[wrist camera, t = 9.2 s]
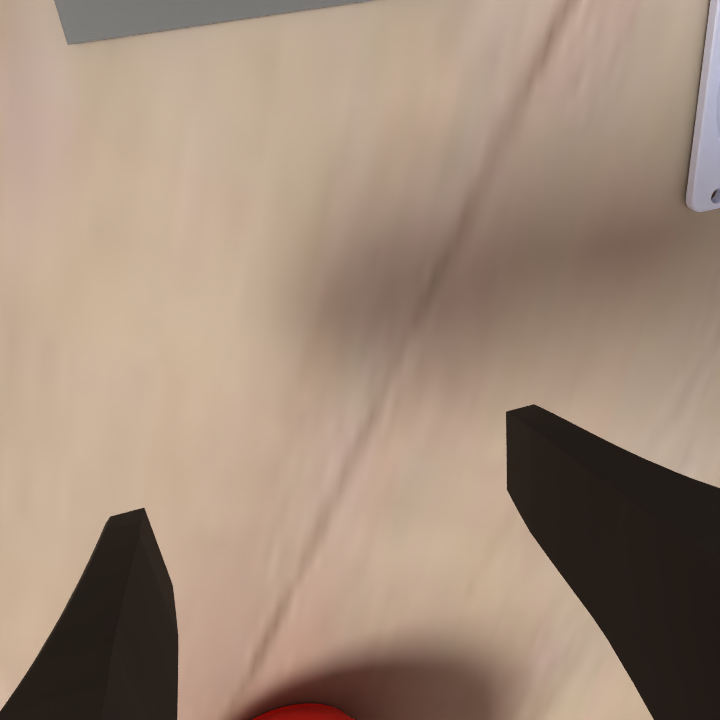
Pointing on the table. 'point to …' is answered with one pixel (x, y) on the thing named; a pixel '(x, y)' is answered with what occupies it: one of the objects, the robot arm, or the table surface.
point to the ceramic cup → (305, 713)
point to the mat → (165, 14)
